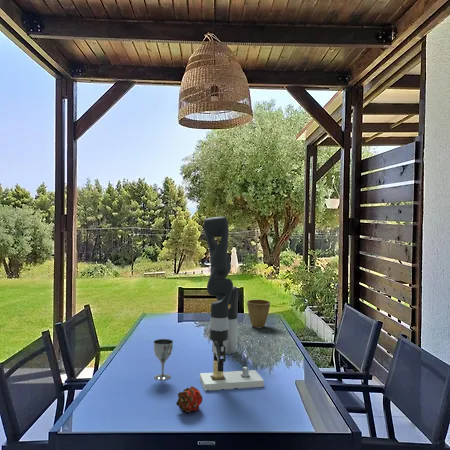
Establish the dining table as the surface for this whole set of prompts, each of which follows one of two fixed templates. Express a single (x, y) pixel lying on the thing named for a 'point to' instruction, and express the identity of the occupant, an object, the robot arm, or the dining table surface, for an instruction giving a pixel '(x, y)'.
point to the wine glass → (163, 355)
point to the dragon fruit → (189, 399)
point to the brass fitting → (217, 374)
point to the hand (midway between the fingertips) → (218, 367)
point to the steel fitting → (245, 372)
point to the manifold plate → (231, 380)
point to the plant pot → (258, 312)
